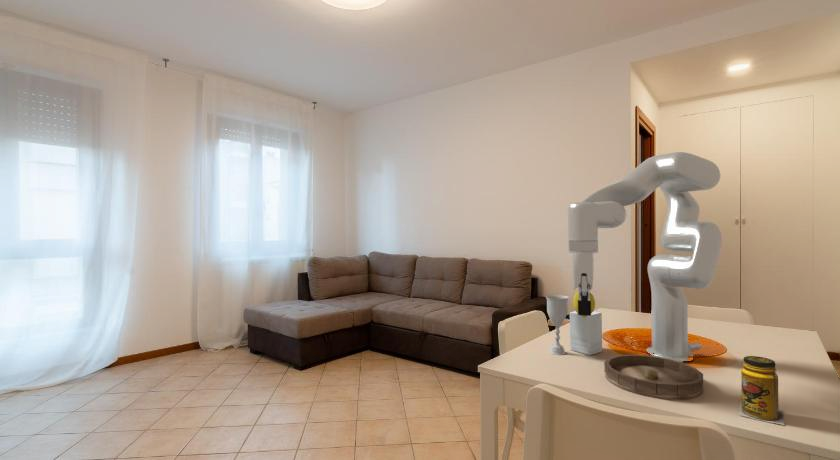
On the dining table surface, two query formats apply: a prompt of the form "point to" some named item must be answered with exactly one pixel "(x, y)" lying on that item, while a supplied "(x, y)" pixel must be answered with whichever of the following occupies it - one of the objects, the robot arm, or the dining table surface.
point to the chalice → (557, 318)
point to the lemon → (575, 302)
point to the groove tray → (661, 376)
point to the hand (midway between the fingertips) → (584, 312)
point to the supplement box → (586, 333)
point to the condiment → (760, 390)
